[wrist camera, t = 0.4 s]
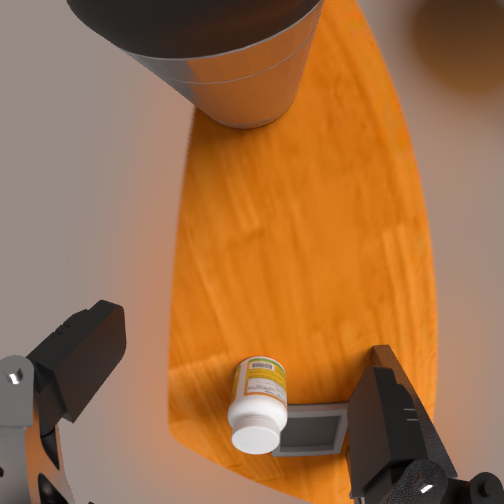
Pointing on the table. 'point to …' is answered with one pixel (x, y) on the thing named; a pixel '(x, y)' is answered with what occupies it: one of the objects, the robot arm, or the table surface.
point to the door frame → (433, 443)
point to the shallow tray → (313, 430)
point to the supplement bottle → (258, 405)
